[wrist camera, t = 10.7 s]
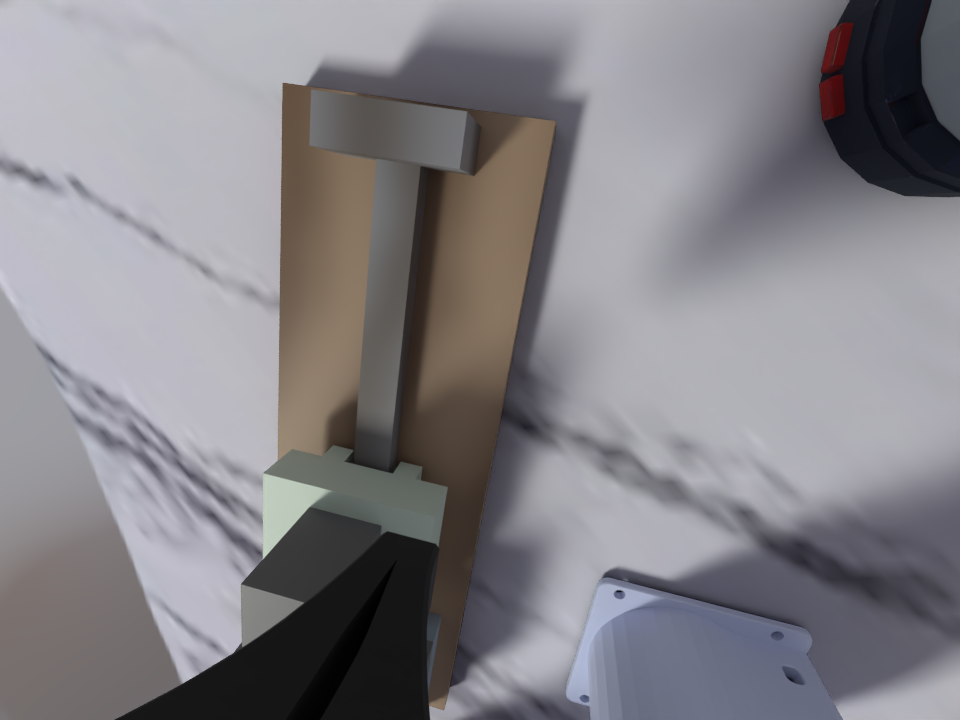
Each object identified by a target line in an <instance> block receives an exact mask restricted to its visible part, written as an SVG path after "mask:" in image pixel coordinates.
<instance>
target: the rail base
mask: <svg viewBox="0 0 960 720" xmlns="http://www.w3.org/2000/svg"><path fill="white" fill-rule="evenodd" d="M555 133H556V121H551V120H544V119H537V118H530V117H523V116H516V115H509V114H501V113H494V112H487V111H480V110H473V109H466V108H459V107H452V106H445V105H437V104H430V103H423V102H416V101H409V100H402V99H395V98H388V97H381V96H373V95H366V94H359V93H352V92H345V91H338V90H331V89H324V88H317V87H309V86H302V85H295V84H288V83H283V101H282V177H281V254H280V331H279V407H278V460H279V459H281V458H282V457H283V456H284V455H285V454H287V453H288V452H289V451H290V450H291V449H295V450H299V451H303V452H307V453H311V454H315V455H319V456H323V455H324V454H325V453H326V452H327V451H328V450H329V449H330V448H331V447H332V446H333V445H334V446H339V447H343V448H347V449H351V450H354V460H353V464H356V465H360V466H364V467H368V468H372V469H376V470H380V471H384V472H388V473H394V471H395V470H396V468H397V467H398V465H399V464H400V462H405V463H409V464H413V465H417V466H421V467H422V475H421V481H425V482H429V483H433V484H437V485H441V486H446V487H448V489H447V495H446V501H445V508H444V514H443V520H442V527H441V533H440V540H439V546H438V547H439V549H440V551H439V557H438V563H437V570H436V576H435V582H434V589H433V595H432V601H431V607H430V611H429V615H428V619H427V680H428V698H429V706H432V707H435V708H438V709H441V710H444V708H445V704H446V700H447V696H448V692H449V688H450V683H451V677H452V672H453V667H454V662H455V656H456V651H457V646H458V641H459V635H460V630H461V625H462V620H463V614H464V609H465V604H466V599H467V593H468V588H469V583H470V578H471V573H472V567H473V562H474V557H475V552H476V546H477V541H478V536H479V531H480V525H481V520H482V515H483V510H484V504H485V499H486V494H487V489H488V483H489V478H490V473H491V468H492V463H493V457H494V452H495V447H496V442H497V436H498V431H499V426H500V421H501V415H502V410H503V405H504V400H505V394H506V389H507V384H508V379H509V373H510V368H511V363H512V358H513V353H514V347H515V342H516V337H517V332H518V326H519V321H520V316H521V311H522V305H523V300H524V295H525V290H526V284H527V279H528V274H529V269H530V263H531V258H532V253H533V248H534V243H535V237H536V232H537V227H538V222H539V216H540V211H541V206H542V201H543V195H544V190H545V185H546V180H547V174H548V169H549V164H550V159H551V154H552V148H553V143H554V138H555ZM241 648H242V643H241V644H240V645H239V647H238V648H237V649H236V651H238V650H239V649H241ZM236 651H235V652H236Z"/></svg>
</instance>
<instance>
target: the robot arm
mask: <svg viewBox="0 0 960 720" xmlns="http://www.w3.org/2000/svg"><path fill="white" fill-rule="evenodd" d="M439 551H440V549H439V547H438V546H437V545H436V544H435V543H431V542H427V541H423V540H420V539H416V538H412V537H408V536H404V535H400V534H397V533H393V532H389V531H387V532H385V533H383V534H382V535H381V536H380V537H379V538H378V539H377V540H376V541H375V542H374V543H373V544H372V545H371V546H370V547H369V548H368V549H366V550H365V551H364V552H363V553H362V554H361V555H360V556H359V557H358V558H357V559H356V560H355V561H353V562H352V563H351V564H350V565H349V566H348V567H347V568H346V569H345V570H343V571H342V572H341V573H340V574H339V575H338V576H336V577H335V578H334V579H333V580H332V581H330V582H329V583H328V584H327V585H326V586H325V587H323V588H322V589H321V590H320V591H319V592H317V593H316V594H315V595H314V596H312V597H311V598H310V599H309V600H307V601H306V602H305V603H303V604H302V605H301V606H299V607H298V608H297V609H296V610H294V611H293V612H292V613H290V614H289V615H288V616H286V617H285V618H284V619H282V620H281V621H280V622H278V623H277V624H276V625H274V626H273V627H271V628H270V629H269V630H267V631H266V632H264V633H263V634H261V635H260V636H259V637H257V638H256V639H254V640H253V641H251V642H250V643H248V644H247V645H245V646H244V647H242V648H241V649H239V650H238V651H236V652H234V653H233V654H231V655H230V656H228V657H226V658H225V659H223V660H221V661H220V662H218V663H217V664H215V665H213V666H212V667H210V668H208V669H207V670H205V671H203V672H202V673H200V674H199V675H197V676H195V677H193V678H192V679H190V680H188V681H186V682H185V683H183V684H181V685H179V686H178V687H176V688H174V689H172V690H171V691H169V692H167V693H165V694H163V695H161V696H159V697H157V698H155V699H153V700H152V701H150V702H148V703H146V704H144V705H142V706H140V707H138V708H136V709H134V710H132V711H131V712H129V713H127V714H125V715H123V716H121V717H119V718H117V719H115V720H430V713H429V698H428V680H427V619H428V615H429V611H430V607H431V601H432V595H433V589H434V582H435V576H436V570H437V563H438V557H439ZM617 590H622V591H623V592H621V593H617V592H615V591H617ZM776 631H777V632H776ZM773 632H776V633H773ZM812 643H813V640H812V637H811V635H810V634H809V632H808V631H807V630H806V629H804V628H802V627H798V626H794V625H791V624H787V623H783V622H779V621H775V620H771V619H767V618H764V617H760V616H756V615H752V614H748V613H744V612H740V611H736V610H733V609H729V608H725V607H721V606H717V605H713V604H709V603H706V602H702V601H698V600H694V599H690V598H686V597H682V596H678V595H675V594H671V593H667V592H663V591H659V590H655V589H651V588H648V587H644V586H640V585H636V584H632V583H628V582H624V581H621V580H617V579H613V578H602V579H601V580H599V582H598V583H597V587H596V590H595V593H594V596H593V600H592V603H591V606H590V609H589V613H588V616H587V619H586V622H585V626H584V629H583V632H582V635H581V639H580V642H579V645H578V648H577V651H576V655H575V658H574V661H573V664H572V668H571V671H570V674H569V677H568V681H567V684H566V697H567V698H568V699H569V700H570V701H573V702H576V703H579V704H582V705H586V706H589V707H590V719H591V720H843V719H842V717H841V715H840V713H839V712H838V710H837V708H836V706H835V704H834V703H833V701H832V699H831V697H830V695H829V694H828V692H827V690H826V688H825V686H824V685H823V683H822V681H821V679H820V677H819V676H818V674H817V672H816V670H815V668H814V667H813V665H812V663H811V661H810V659H809V658H808V656H807V653H808V651H809V649H810V648H811V646H812Z"/></svg>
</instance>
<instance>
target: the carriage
mask: <svg viewBox="0 0 960 720" xmlns="http://www.w3.org/2000/svg"><path fill="white" fill-rule="evenodd" d="M353 460H354V450H351V449H347V448H343V447H339V446H334V445H333V446H332V447H331V448H330V449H329V450H328V451H327V452H326V453H325V454H324V455H323V456H319V455H315V454H311V453H307V452H303V451H299V450H295V449H291V450H290V451H289V452H288V453H287V454H285V455H284V456H283V457H282V458H281V459H279V460H278V461H277V462H276V463H275V464H274V465H272V466H271V467H270V468H269V469H268V470H266V471H265V472H264V473H263V560H262V561H261V562H260V563H259V564H258V566H257V567H256V568H255V569H254V570H253V571H252V572H251V573H250V575H249V576H248V577H247V578H246V579H245V580H244V581H243V582H242V584H241V618H242V647H244V646H245V645H247V644H248V643H250V642H251V641H253V640H254V639H256V638H257V637H259V636H260V635H261V634H263V633H264V632H266V631H267V630H269V629H270V628H271V627H273V626H274V625H276V624H277V623H278V622H280V621H281V620H282V619H284V618H285V617H286V616H288V615H289V614H290V613H292V612H293V611H294V610H296V609H297V608H298V607H299V606H301V605H302V604H303V603H305V602H306V601H307V600H309V599H310V598H311V597H312V596H314V595H315V594H316V593H317V592H319V591H320V590H321V589H322V588H323V587H325V586H326V585H327V584H328V583H329V582H330V581H332V580H333V579H334V578H335V577H336V576H338V575H339V574H340V573H341V572H342V571H343V570H345V569H346V568H347V567H348V566H349V565H350V564H351V563H352V562H353V561H355V560H356V559H357V558H358V557H359V556H360V555H361V554H362V553H363V552H364V551H365V550H366V549H368V548H369V547H370V546H371V545H372V544H373V543H374V542H375V541H376V540H377V539H378V538H379V537H380V536H381V535H382V534H383V533H385V532H387V531H389V532H393V533H397V534H400V535H404V536H408V537H412V538H416V539H420V540H423V541H427V542H431V543H435V544H436V545H437V546H439V540H440V533H441V527H442V520H443V514H444V508H445V501H446V495H447V489H448V487H446V486H441V485H437V484H433V483H429V482H425V481H421V475H422V467H421V466H417V465H413V464H409V463H405V462H400V464H399V465H398V467H397V468H396V470H395V471H394V473H388V472H384V471H380V470H376V469H372V468H368V467H364V466H360V465H356V464H353Z"/></svg>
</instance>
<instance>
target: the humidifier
mask: <svg viewBox="0 0 960 720" xmlns="http://www.w3.org/2000/svg"><path fill="white" fill-rule="evenodd" d="M821 73H822V77H821V83H820V84H819V88H820V99H821V110H822V120H823V121H824V125H825V127H826V129H827V131H828V133H829V135H830V137H831V139H832V141H833V144H834V146H835V148H836V150H837V152H838V154H839V156H840V158H841V159H842V160H843V161H845V162H846V163H847V164H848V165H849V166H850V167H851V168H852V169H854V170H855V171H856V172H857V173H858V174H859V175H860V176H861V177H862V178H864V179H865V180H866V181H867V182H868V183H871V184H874V185H876V186H879V187H882V188H885V189H887V190H890V191H893V192H896V193H898V194H901V195H904V196H925V197H960V0H850V2H849V3H848V5H847V7H846V9H845V11H844V13H843V15H842V16H841V18H840V20H839V22H838V24H837V26H836V28H834V29H833V30H831V31H830V34H829V38H828V42H827V47H826V51H825V55H824V60H823V64H822V68H821Z"/></svg>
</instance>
